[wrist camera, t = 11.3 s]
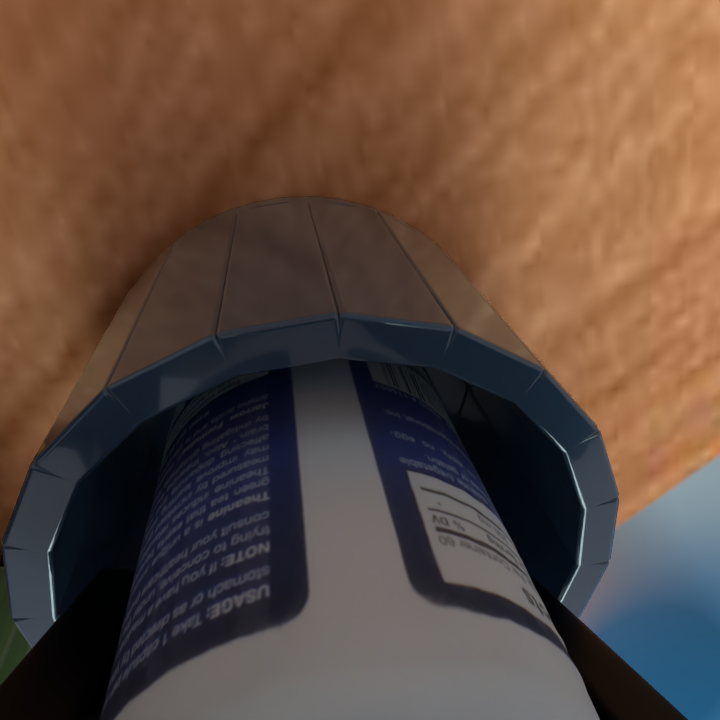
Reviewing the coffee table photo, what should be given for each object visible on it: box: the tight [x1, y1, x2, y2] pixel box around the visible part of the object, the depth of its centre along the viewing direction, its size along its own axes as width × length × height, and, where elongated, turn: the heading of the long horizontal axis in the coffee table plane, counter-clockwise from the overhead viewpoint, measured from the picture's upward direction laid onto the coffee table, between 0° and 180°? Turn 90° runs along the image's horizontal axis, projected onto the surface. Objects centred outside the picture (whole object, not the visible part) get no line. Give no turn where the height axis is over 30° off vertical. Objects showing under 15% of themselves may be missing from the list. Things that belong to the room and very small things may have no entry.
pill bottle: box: [100, 359, 600, 720], centre depth 8 cm, size 5×5×10 cm
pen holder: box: [2, 196, 619, 649], centre depth 11 cm, size 9×9×6 cm
